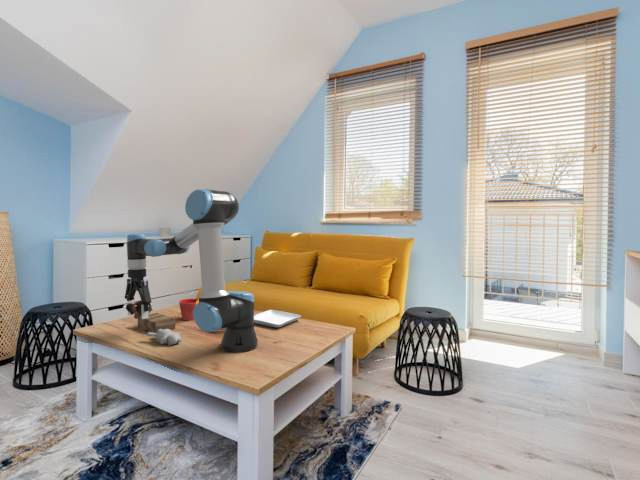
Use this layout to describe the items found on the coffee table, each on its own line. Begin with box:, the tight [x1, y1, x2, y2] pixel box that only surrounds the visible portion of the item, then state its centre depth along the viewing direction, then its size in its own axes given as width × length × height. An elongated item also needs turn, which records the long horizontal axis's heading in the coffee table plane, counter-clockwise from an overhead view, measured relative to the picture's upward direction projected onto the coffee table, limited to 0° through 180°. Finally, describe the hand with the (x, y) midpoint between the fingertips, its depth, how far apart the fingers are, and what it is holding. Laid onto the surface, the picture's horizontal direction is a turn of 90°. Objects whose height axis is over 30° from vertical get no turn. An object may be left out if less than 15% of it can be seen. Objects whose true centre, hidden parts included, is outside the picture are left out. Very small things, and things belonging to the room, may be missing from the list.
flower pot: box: [179, 298, 199, 322], centre depth 198 cm, size 11×11×10 cm
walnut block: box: [137, 312, 176, 333], centre depth 180 cm, size 16×10×5 cm, turn 54°
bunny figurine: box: [145, 329, 182, 346], centre depth 161 cm, size 10×5×15 cm
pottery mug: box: [125, 300, 154, 320], centre depth 170 cm, size 12×10×8 cm
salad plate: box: [254, 309, 302, 328], centre depth 195 cm, size 21×21×3 cm
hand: (138, 316), depth 169 cm, fingers closed on pottery mug, 11 cm apart
